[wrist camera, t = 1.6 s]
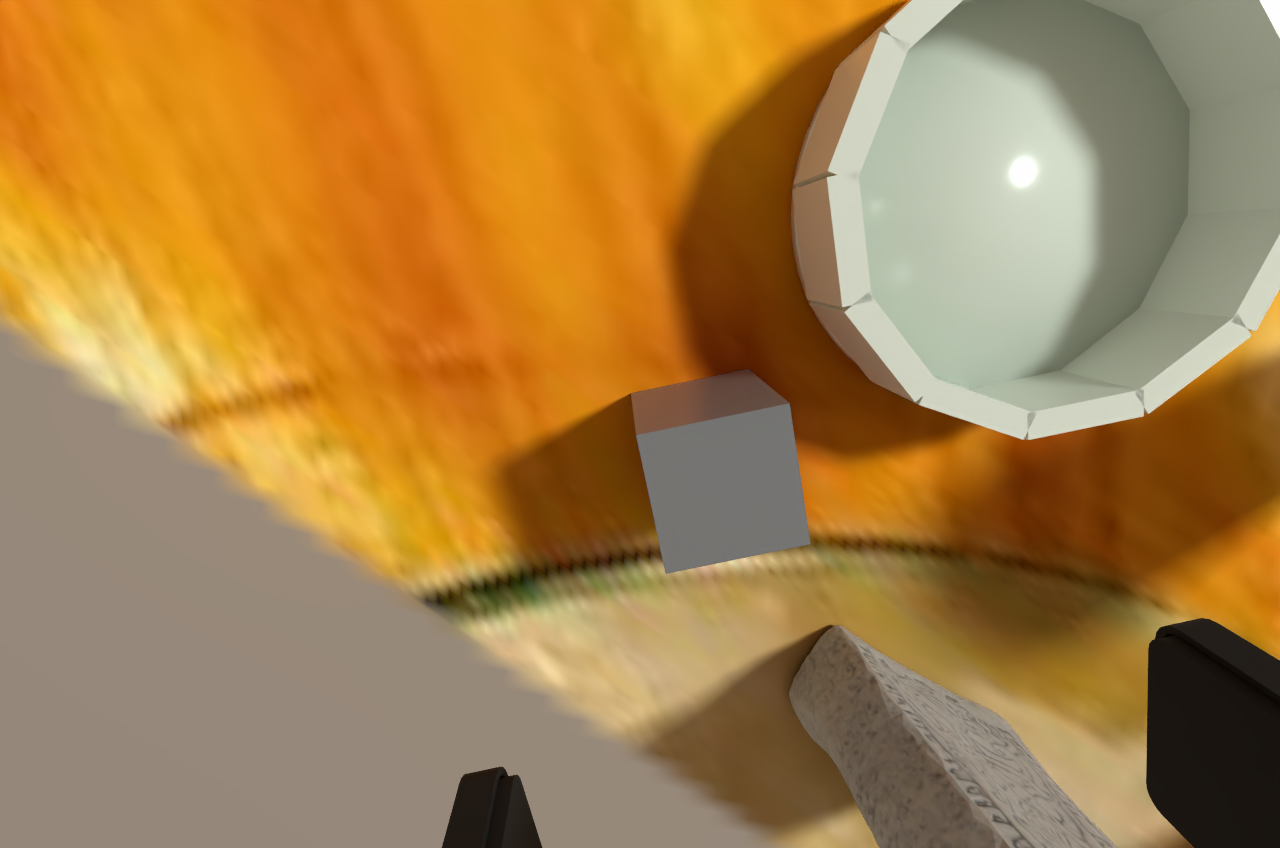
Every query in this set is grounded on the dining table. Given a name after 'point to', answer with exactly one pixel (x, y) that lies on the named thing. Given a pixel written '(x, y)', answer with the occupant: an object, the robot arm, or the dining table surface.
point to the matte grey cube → (720, 469)
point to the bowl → (1045, 203)
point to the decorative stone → (929, 757)
